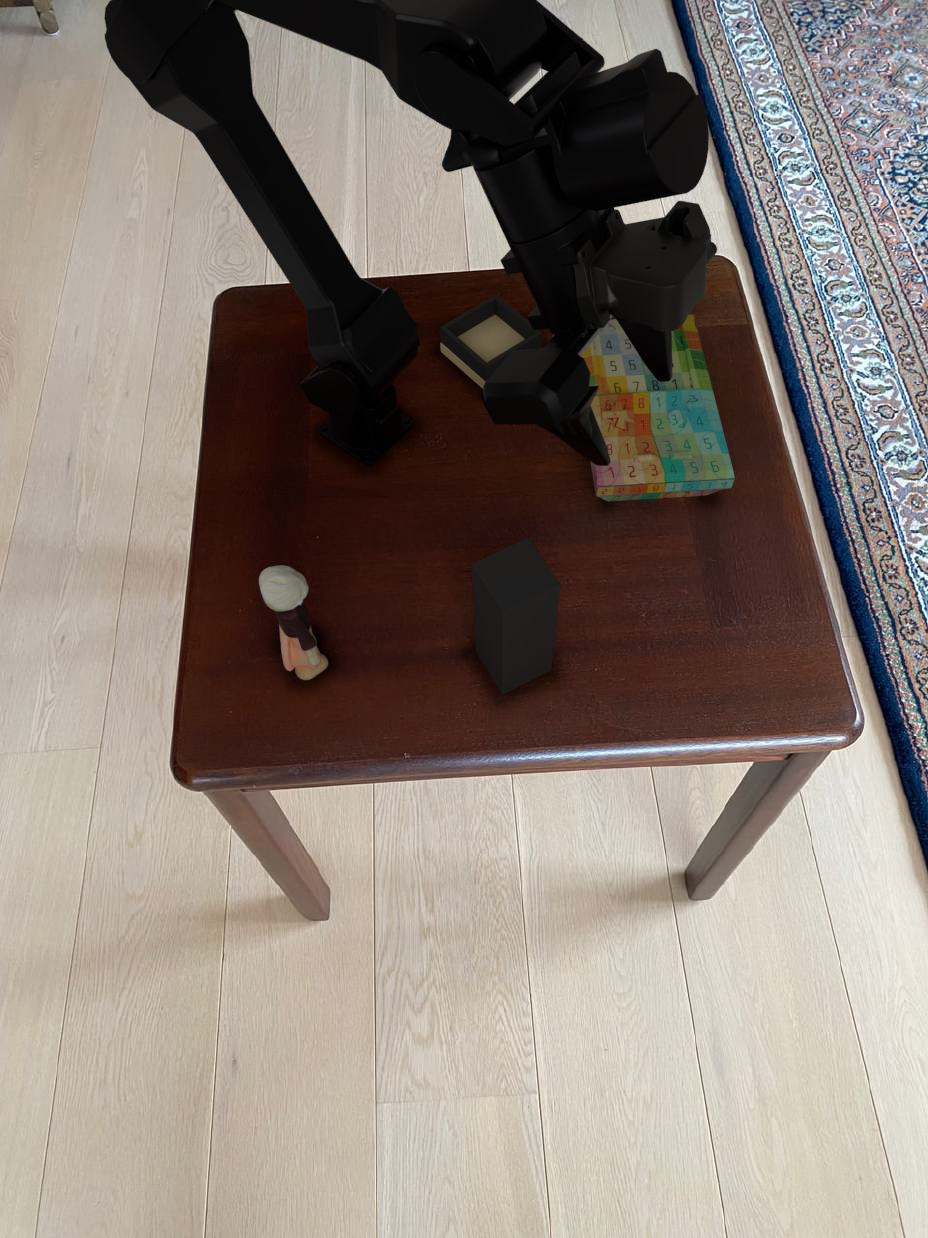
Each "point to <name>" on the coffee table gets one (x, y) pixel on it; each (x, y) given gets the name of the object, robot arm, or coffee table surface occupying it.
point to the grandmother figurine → (292, 620)
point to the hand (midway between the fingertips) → (635, 421)
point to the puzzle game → (656, 420)
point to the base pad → (487, 338)
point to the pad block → (515, 614)
